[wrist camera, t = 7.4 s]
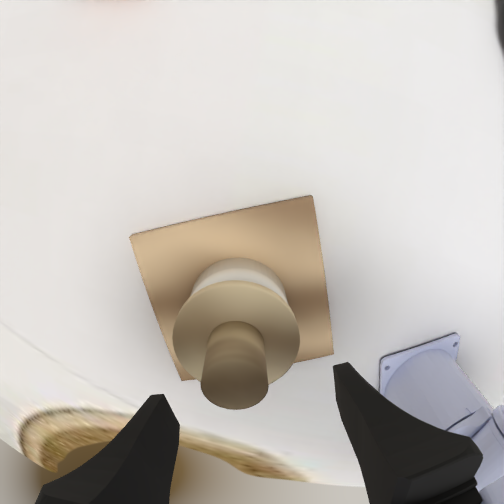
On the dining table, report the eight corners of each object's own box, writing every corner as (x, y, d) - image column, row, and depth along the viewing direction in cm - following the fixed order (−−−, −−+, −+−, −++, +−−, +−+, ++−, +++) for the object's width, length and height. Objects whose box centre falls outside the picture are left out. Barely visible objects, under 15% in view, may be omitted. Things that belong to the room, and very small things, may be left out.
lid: (302, 374, 18) (313, 424, 14) (191, 387, 19) (182, 437, 15) (291, 270, 16) (305, 310, 12) (161, 289, 17) (138, 331, 13)
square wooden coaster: (331, 349, 24) (333, 354, 23) (182, 376, 24) (181, 380, 24) (310, 195, 20) (312, 196, 20) (132, 234, 21) (129, 236, 20)
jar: (292, 332, 23) (301, 371, 18) (205, 348, 23) (198, 388, 19) (276, 248, 21) (284, 274, 16) (180, 268, 21) (164, 298, 17)
